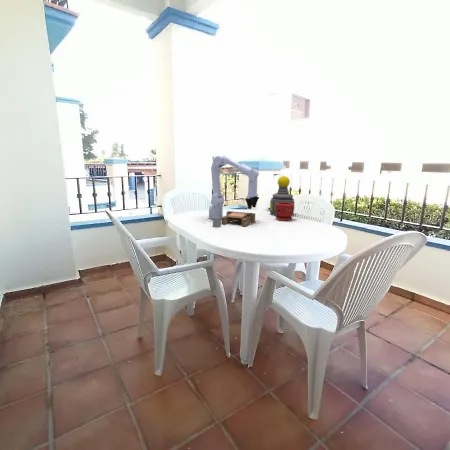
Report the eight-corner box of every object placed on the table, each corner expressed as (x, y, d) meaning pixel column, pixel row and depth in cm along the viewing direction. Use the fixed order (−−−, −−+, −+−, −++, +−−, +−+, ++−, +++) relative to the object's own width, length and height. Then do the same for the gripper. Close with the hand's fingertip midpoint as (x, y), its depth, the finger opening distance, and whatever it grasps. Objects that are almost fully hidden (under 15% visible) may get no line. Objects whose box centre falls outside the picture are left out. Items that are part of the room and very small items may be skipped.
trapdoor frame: (219, 224, 182) (219, 215, 180) (228, 219, 196) (228, 211, 195) (248, 227, 175) (248, 217, 173) (255, 221, 189) (255, 213, 188)
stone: (212, 226, 175) (212, 217, 173) (215, 225, 178) (215, 216, 177) (218, 227, 173) (218, 218, 172) (221, 226, 177) (221, 216, 175)
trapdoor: (227, 216, 181) (227, 215, 181) (233, 214, 190) (233, 212, 190) (242, 218, 178) (242, 216, 177) (246, 215, 187) (246, 213, 186)
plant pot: (295, 221, 192) (296, 204, 189) (276, 221, 192) (277, 204, 189) (291, 217, 204) (292, 201, 202) (273, 217, 205) (274, 201, 202)
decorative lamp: (275, 217, 205) (278, 176, 198) (265, 212, 223) (267, 175, 216) (298, 216, 210) (301, 176, 203) (286, 211, 228) (289, 175, 220)
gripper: (254, 189, 174) (253, 210, 177) (262, 187, 186) (261, 207, 190) (243, 188, 177) (243, 209, 180) (252, 186, 190) (251, 206, 193)
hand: (251, 208), depth 185 cm, fingers open, 7 cm apart
